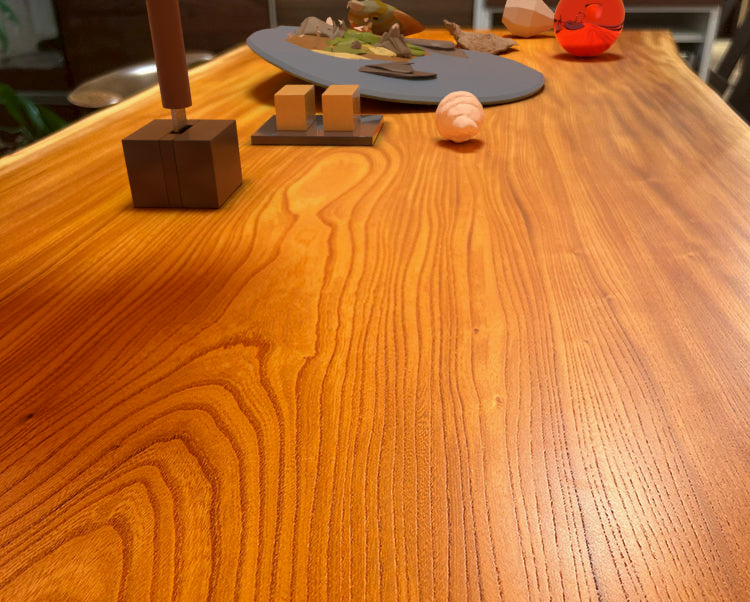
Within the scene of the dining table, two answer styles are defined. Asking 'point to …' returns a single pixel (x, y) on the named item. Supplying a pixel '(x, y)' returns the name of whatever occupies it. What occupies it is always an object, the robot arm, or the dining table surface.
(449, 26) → the coral
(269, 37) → the serving platter
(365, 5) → the decorative fish sculpture
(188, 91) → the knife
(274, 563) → the dining table surface
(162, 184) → the brown slotted box
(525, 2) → the faceted beige polyhedron
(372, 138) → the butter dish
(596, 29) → the ball
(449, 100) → the peach ridged curved piece
